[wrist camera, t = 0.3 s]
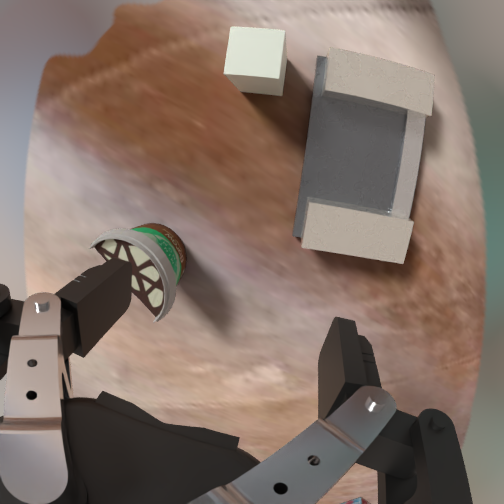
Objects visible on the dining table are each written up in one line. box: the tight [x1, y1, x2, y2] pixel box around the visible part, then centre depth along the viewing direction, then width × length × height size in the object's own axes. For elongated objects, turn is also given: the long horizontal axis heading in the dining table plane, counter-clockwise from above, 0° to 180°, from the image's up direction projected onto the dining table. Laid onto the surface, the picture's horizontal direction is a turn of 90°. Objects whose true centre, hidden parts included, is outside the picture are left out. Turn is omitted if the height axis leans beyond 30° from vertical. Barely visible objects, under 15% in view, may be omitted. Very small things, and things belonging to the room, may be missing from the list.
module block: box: [224, 27, 287, 96], centre depth 29 cm, size 5×5×10 cm
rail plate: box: [293, 47, 435, 264], centre depth 33 cm, size 22×14×6 cm, turn 173°
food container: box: [89, 223, 187, 323], centre depth 38 cm, size 12×6×10 cm, turn 40°
